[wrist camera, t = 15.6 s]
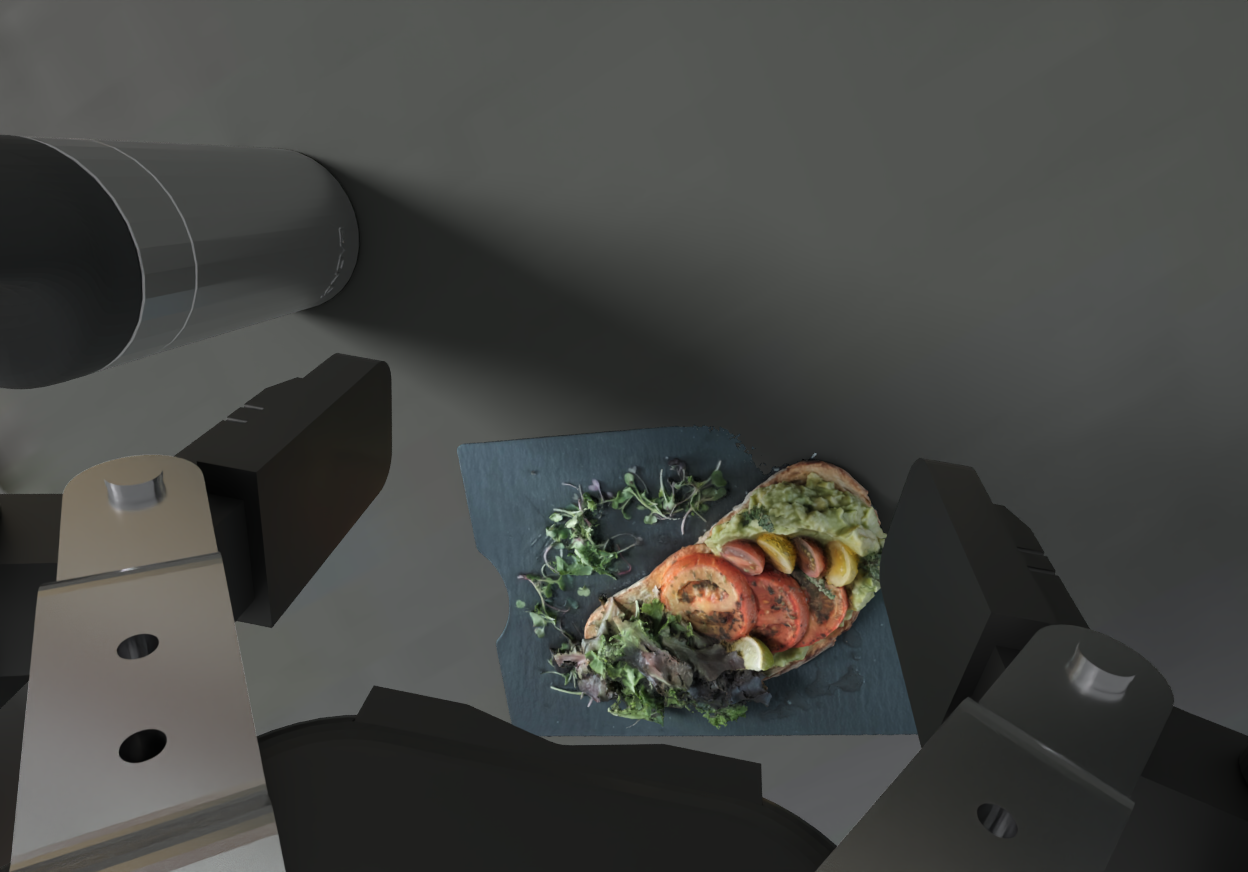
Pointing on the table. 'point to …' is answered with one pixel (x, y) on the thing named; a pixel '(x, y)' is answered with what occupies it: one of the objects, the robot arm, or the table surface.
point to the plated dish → (684, 588)
